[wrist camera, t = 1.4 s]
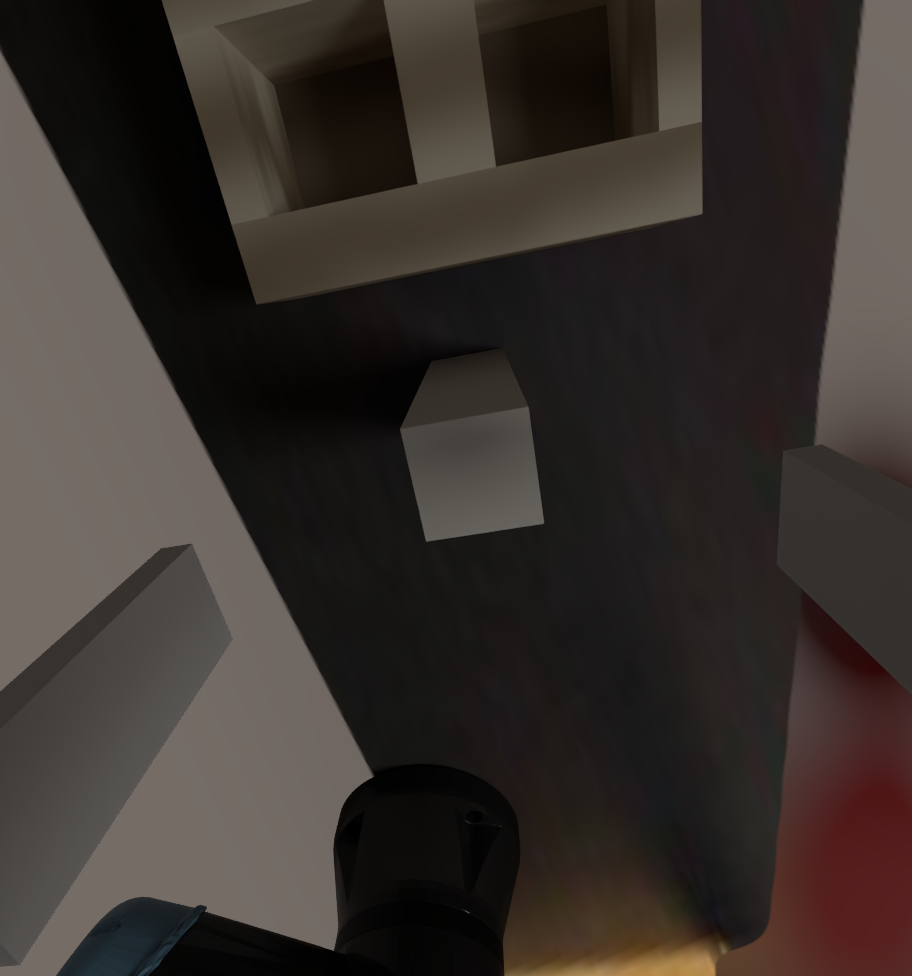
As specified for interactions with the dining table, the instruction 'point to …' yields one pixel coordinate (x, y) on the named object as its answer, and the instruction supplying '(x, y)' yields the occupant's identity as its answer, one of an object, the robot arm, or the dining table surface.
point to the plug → (471, 448)
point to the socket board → (439, 129)
